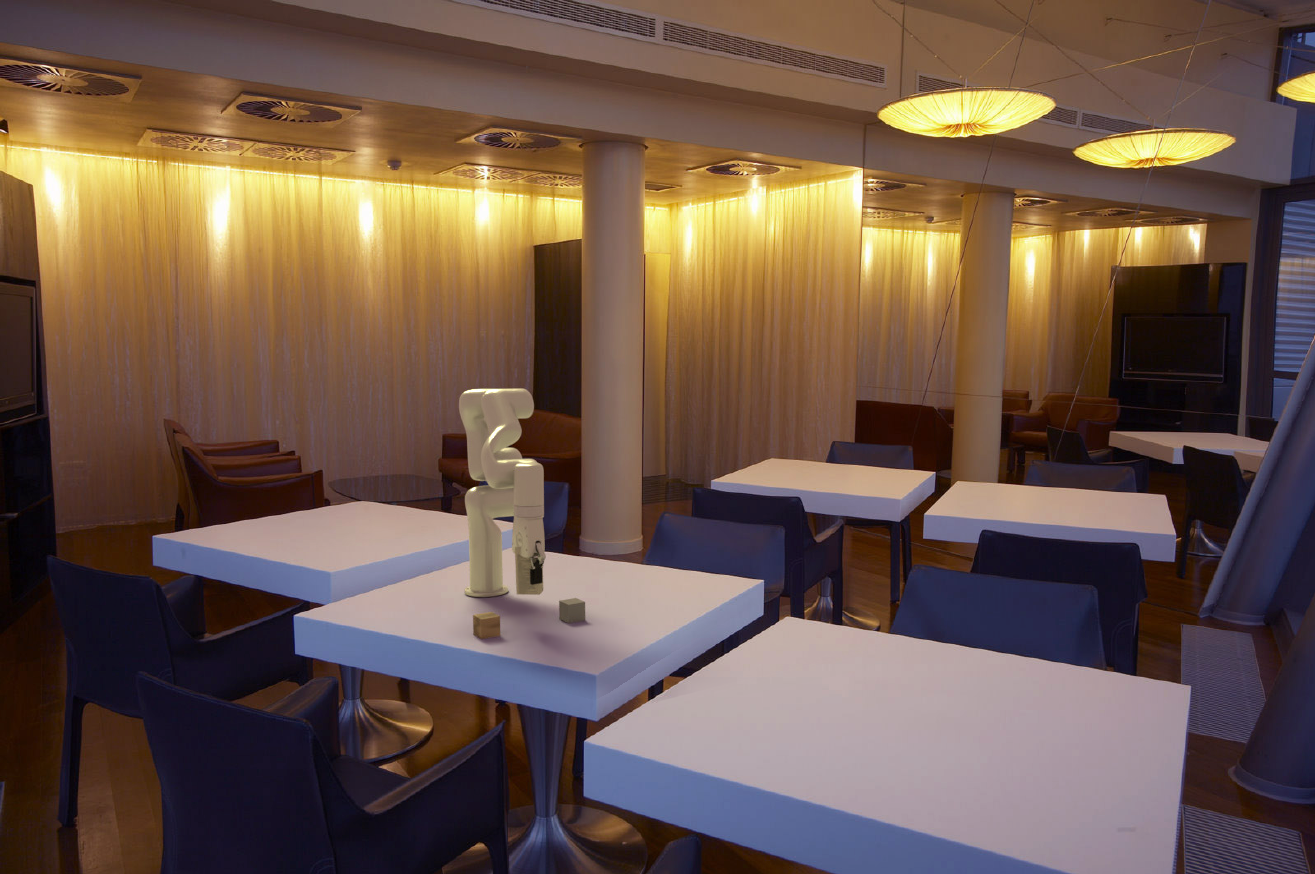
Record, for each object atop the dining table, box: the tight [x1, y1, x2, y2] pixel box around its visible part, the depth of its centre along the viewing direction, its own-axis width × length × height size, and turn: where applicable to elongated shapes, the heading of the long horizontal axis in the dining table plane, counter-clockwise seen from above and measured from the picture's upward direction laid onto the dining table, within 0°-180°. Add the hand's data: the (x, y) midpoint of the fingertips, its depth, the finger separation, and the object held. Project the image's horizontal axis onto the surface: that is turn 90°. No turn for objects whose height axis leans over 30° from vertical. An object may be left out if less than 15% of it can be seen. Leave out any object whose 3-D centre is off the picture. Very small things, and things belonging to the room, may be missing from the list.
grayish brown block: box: [558, 597, 586, 624], centre depth 236 cm, size 5×5×5 cm
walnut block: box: [472, 611, 501, 640], centre depth 223 cm, size 5×5×5 cm
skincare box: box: [514, 547, 544, 596], centre depth 229 cm, size 6×4×12 cm
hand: (529, 579), depth 229 cm, fingers closed on skincare box, 7 cm apart
